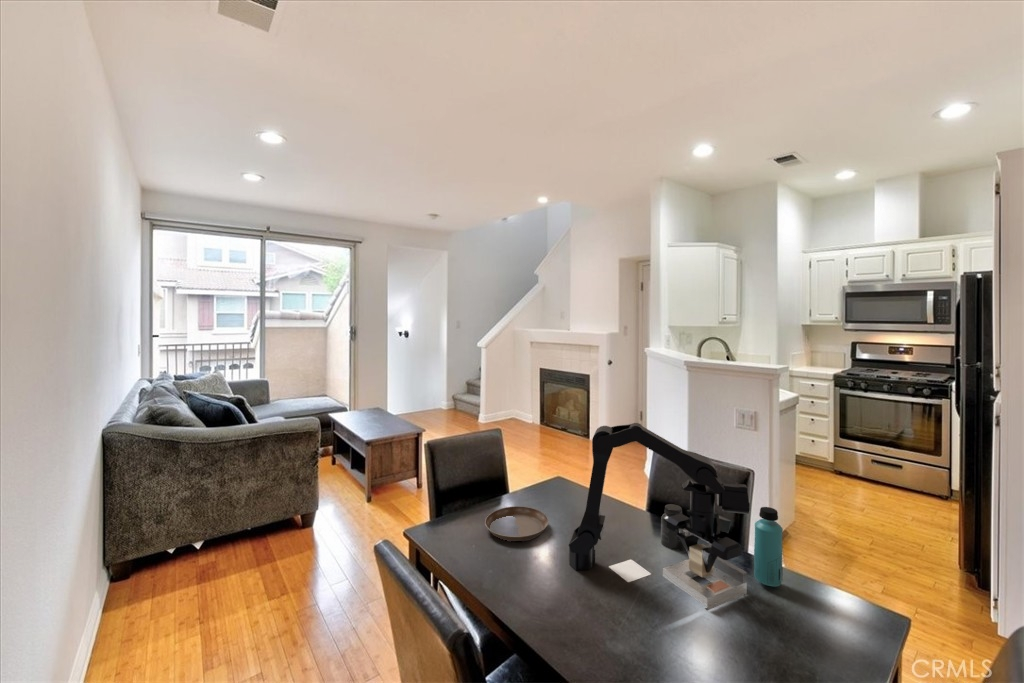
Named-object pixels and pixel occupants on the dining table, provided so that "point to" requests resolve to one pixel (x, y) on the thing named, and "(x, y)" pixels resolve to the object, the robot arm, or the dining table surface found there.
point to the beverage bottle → (768, 548)
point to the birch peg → (697, 560)
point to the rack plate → (721, 588)
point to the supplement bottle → (667, 535)
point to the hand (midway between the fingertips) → (701, 567)
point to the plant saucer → (520, 522)
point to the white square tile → (629, 570)
